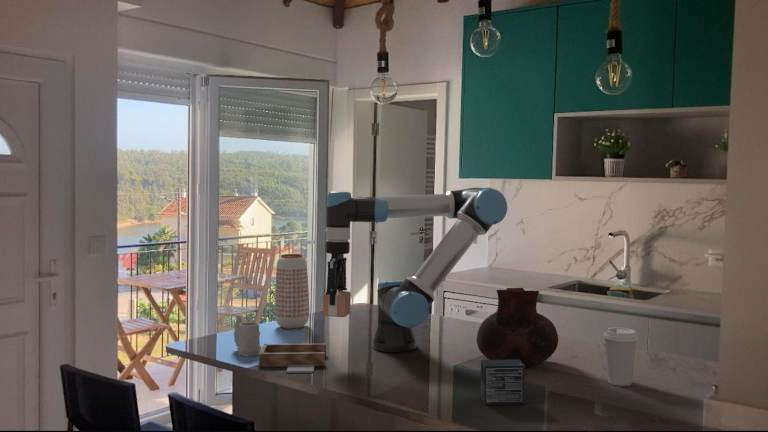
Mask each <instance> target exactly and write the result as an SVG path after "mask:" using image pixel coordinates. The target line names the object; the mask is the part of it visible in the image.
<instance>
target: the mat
mask: <svg viewBox="0 0 768 432" xmlns="http://www.w3.org/2000/svg"><path fill="white" fill-rule="evenodd" d="M315 367H316V366H315V364H309V365H288V366H287V368H286V373H285V374H309V373H310V374H313V373H314V371H315Z"/></svg>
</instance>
